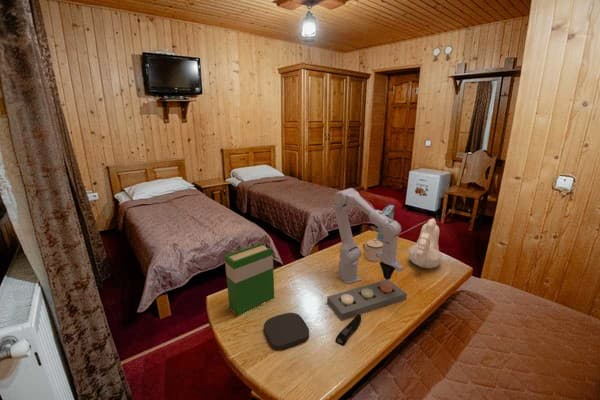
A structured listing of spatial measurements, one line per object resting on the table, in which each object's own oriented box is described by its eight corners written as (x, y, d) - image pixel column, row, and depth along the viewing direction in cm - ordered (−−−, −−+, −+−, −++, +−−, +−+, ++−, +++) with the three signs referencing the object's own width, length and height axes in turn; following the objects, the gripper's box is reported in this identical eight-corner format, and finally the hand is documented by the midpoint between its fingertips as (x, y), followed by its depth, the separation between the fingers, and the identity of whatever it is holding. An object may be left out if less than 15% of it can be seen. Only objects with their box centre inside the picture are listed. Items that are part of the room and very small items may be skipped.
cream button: (338, 300, 118) (338, 296, 117) (348, 297, 120) (349, 293, 119) (345, 308, 114) (345, 302, 113) (355, 304, 116) (355, 299, 115)
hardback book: (265, 290, 129) (262, 242, 122) (274, 298, 124) (272, 248, 117) (229, 307, 118) (224, 255, 111) (238, 316, 113) (233, 262, 106)
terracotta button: (377, 289, 126) (378, 284, 125) (386, 286, 128) (387, 281, 127) (385, 295, 121) (385, 290, 121) (394, 292, 123) (394, 287, 123)
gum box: (383, 238, 183) (386, 204, 177) (391, 239, 181) (395, 205, 174) (376, 250, 167) (378, 213, 160) (384, 252, 164) (387, 214, 158)
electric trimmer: (363, 323, 109) (364, 316, 108) (343, 347, 98) (343, 339, 97) (355, 319, 112) (355, 312, 111) (334, 342, 100) (334, 334, 99)
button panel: (327, 302, 120) (327, 296, 120) (387, 284, 133) (387, 279, 132) (342, 320, 110) (342, 313, 109) (406, 299, 122) (406, 293, 121)
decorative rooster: (417, 253, 162) (421, 212, 155) (445, 263, 151) (452, 219, 144) (394, 269, 146) (398, 224, 139) (424, 281, 135) (431, 233, 128)
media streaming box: (273, 354, 95) (273, 347, 94) (261, 326, 108) (261, 319, 107) (312, 340, 101) (313, 333, 100) (296, 315, 113) (296, 309, 113)
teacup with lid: (385, 258, 157) (387, 239, 154) (376, 264, 151) (377, 244, 148) (367, 251, 166) (368, 232, 162) (357, 256, 160) (358, 237, 156)
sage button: (358, 294, 122) (359, 290, 121) (368, 292, 124) (368, 287, 123) (365, 301, 118) (366, 296, 117) (375, 298, 119) (376, 293, 119)
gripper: (409, 255, 114) (406, 284, 118) (385, 241, 127) (383, 268, 131) (396, 258, 111) (393, 288, 115) (372, 244, 124) (370, 271, 128)
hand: (387, 278), depth 123 cm, fingers closed
